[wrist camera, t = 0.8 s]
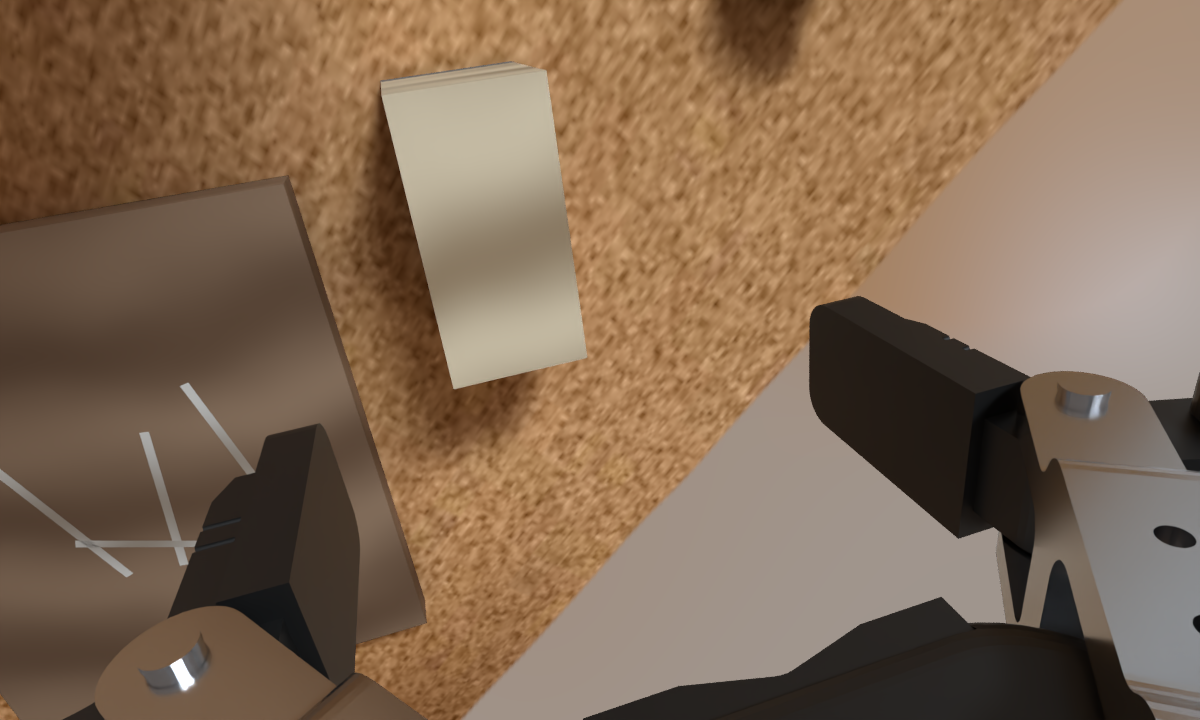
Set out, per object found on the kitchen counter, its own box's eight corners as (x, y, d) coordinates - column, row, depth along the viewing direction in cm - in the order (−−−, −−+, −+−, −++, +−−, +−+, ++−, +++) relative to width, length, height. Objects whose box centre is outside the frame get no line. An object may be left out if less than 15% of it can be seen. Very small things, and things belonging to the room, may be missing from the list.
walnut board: (-268, 271, 21) (-311, 287, 20) (288, 175, 24) (283, 184, 23) (50, 709, 30) (35, 740, 29) (424, 599, 33) (426, 623, 32)
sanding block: (380, 80, 24) (381, 95, 19) (510, 61, 25) (546, 70, 20) (439, 321, 28) (453, 389, 23) (549, 297, 29) (587, 357, 24)
